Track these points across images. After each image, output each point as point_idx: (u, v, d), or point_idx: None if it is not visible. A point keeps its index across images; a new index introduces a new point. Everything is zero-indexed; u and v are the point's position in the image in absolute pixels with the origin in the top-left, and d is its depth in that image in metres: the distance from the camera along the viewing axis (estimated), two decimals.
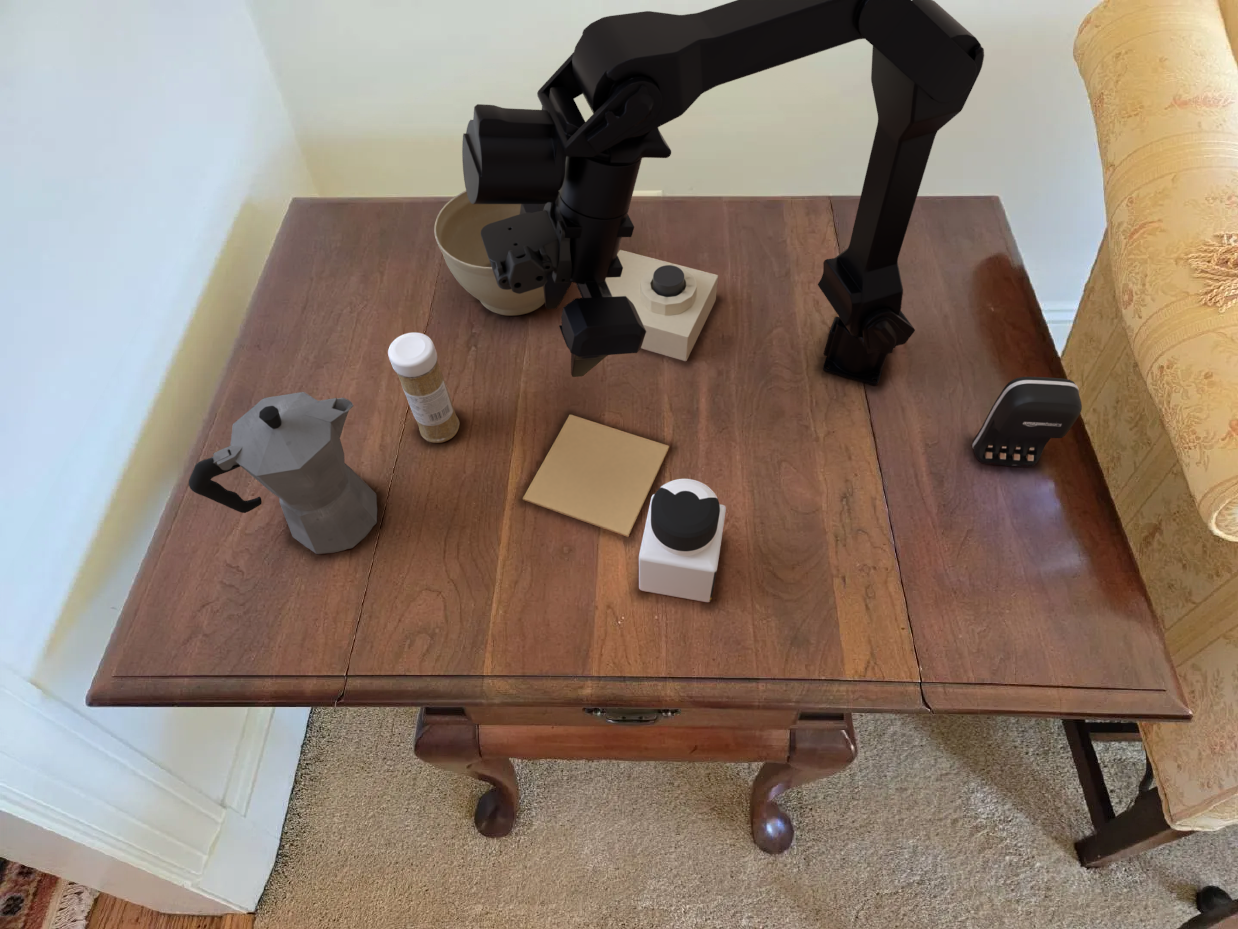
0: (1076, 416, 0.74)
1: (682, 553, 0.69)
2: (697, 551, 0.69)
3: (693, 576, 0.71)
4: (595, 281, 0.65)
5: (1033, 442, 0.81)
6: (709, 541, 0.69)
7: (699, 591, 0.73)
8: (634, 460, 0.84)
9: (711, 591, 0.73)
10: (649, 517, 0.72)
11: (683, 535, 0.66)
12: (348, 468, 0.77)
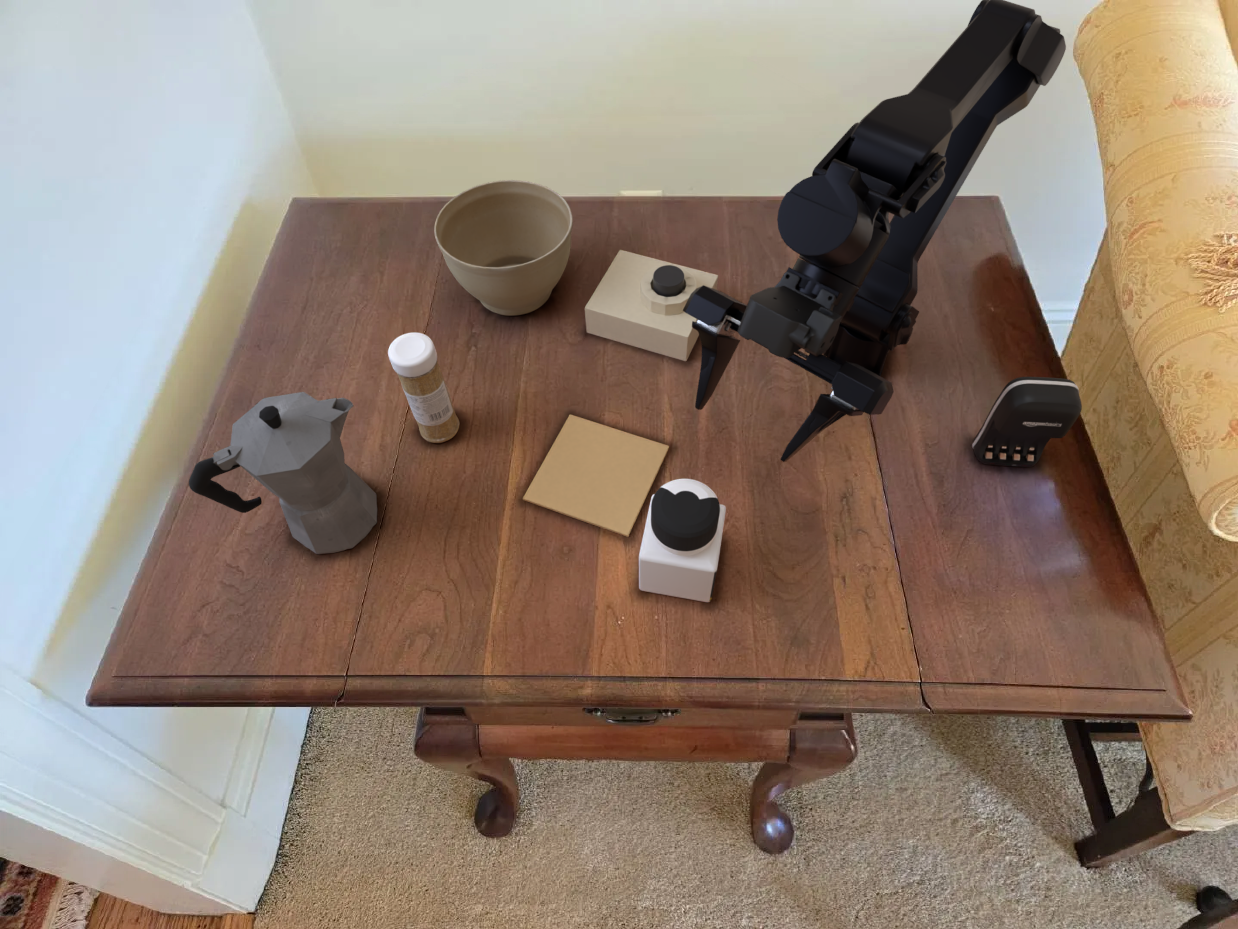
0: (1076, 416, 0.74)
1: (682, 553, 0.69)
2: (697, 551, 0.69)
3: (693, 576, 0.71)
4: None
5: (1033, 442, 0.81)
6: (709, 541, 0.69)
7: (699, 591, 0.73)
8: (634, 460, 0.84)
9: (711, 591, 0.73)
10: (649, 517, 0.72)
11: (683, 535, 0.66)
12: (348, 468, 0.77)
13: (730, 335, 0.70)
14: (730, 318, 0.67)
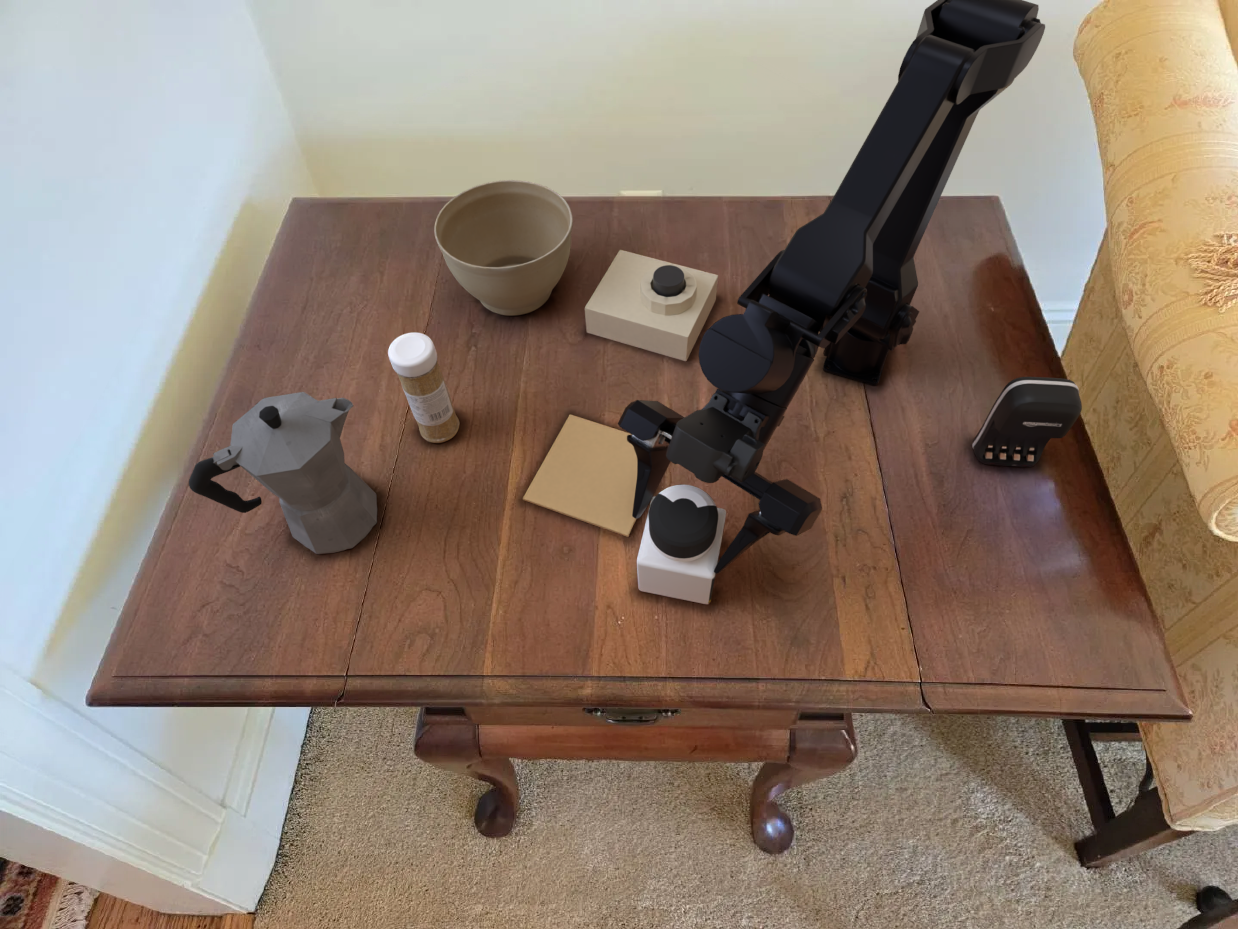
0: (1076, 416, 0.74)
1: (679, 560, 0.68)
2: (695, 558, 0.68)
3: (691, 582, 0.71)
4: None
5: (1033, 442, 0.81)
6: (707, 548, 0.68)
7: (698, 595, 0.73)
8: (634, 460, 0.84)
9: (709, 595, 0.73)
10: (648, 520, 0.72)
11: (680, 544, 0.66)
12: (348, 468, 0.77)
13: (666, 446, 0.72)
14: (664, 433, 0.69)
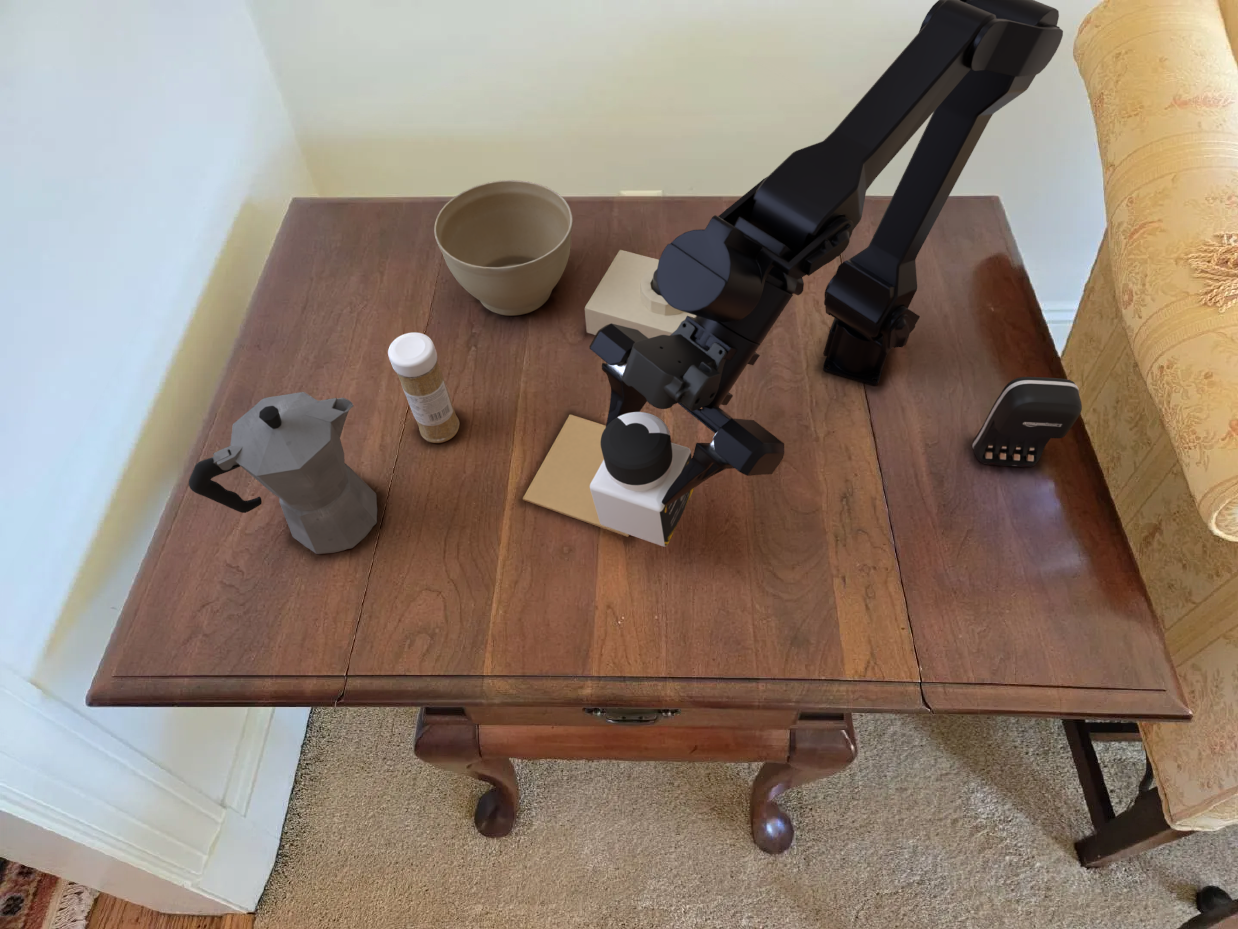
0: (1076, 416, 0.74)
1: (628, 486, 0.67)
2: (643, 487, 0.67)
3: (642, 514, 0.69)
4: (718, 406, 0.65)
5: (1033, 442, 0.81)
6: (657, 478, 0.67)
7: (652, 533, 0.71)
8: None
9: (663, 534, 0.71)
10: None
11: (624, 466, 0.65)
12: (348, 468, 0.77)
13: None
14: None
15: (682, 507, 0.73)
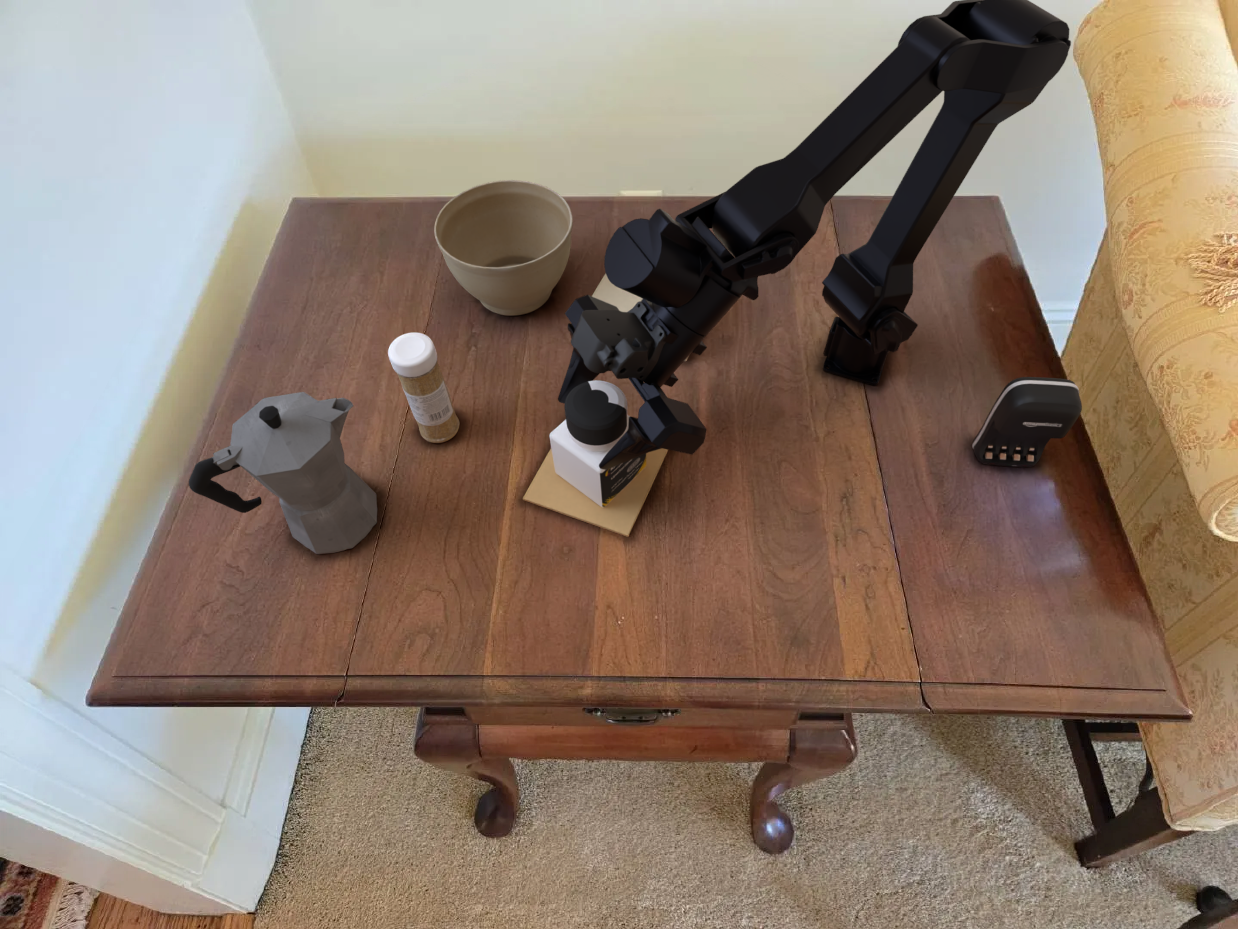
0: (1076, 416, 0.74)
1: (579, 443, 0.75)
2: (592, 447, 0.75)
3: (586, 472, 0.77)
4: (658, 385, 0.71)
5: (1033, 442, 0.81)
6: (605, 443, 0.74)
7: (593, 491, 0.79)
8: None
9: (602, 495, 0.78)
10: None
11: (577, 423, 0.73)
12: (348, 468, 0.77)
13: None
14: None
15: (628, 478, 0.81)
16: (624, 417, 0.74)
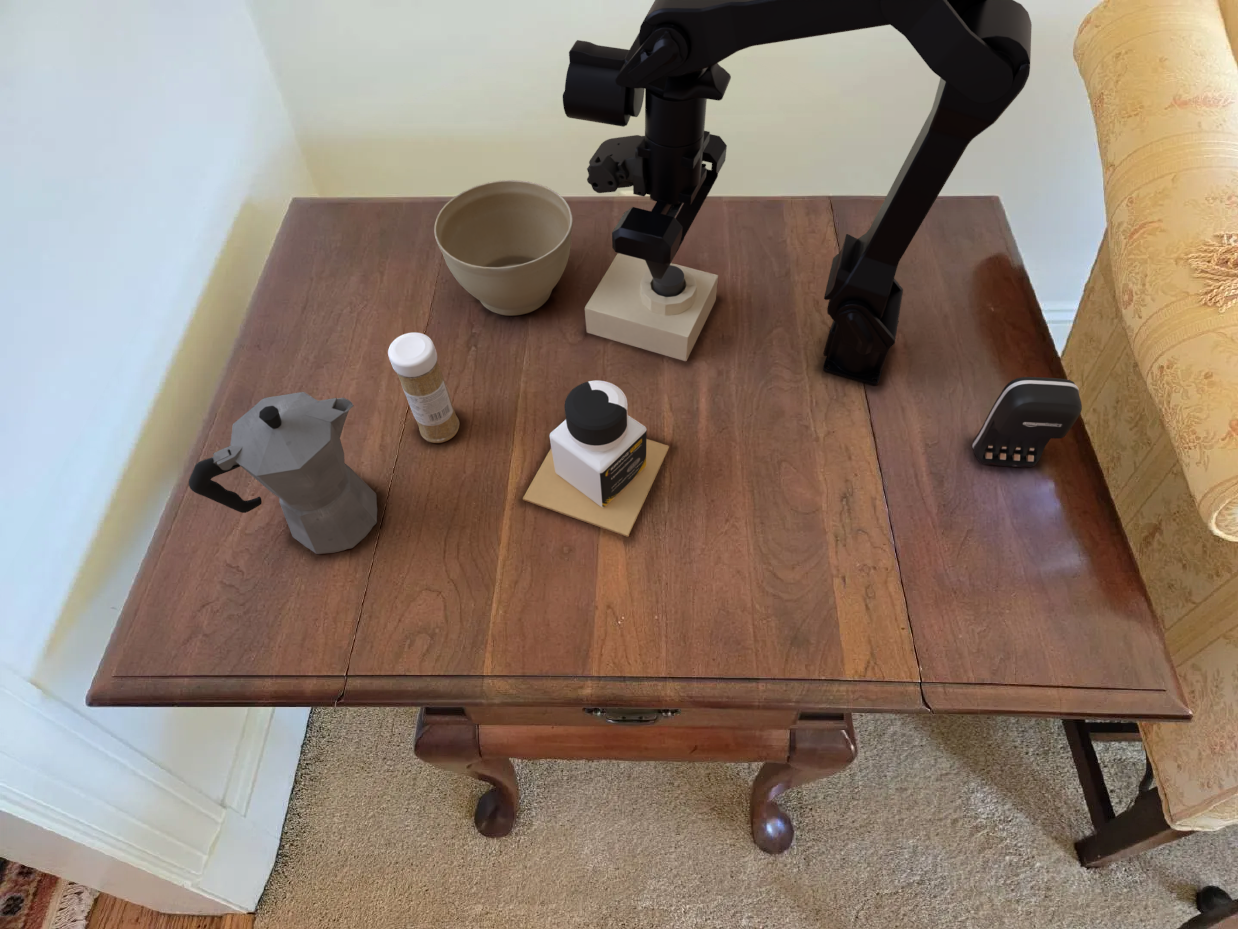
0: (1076, 416, 0.74)
1: (579, 443, 0.75)
2: (592, 447, 0.75)
3: (586, 472, 0.77)
4: (666, 201, 0.78)
5: (1033, 442, 0.81)
6: (605, 443, 0.74)
7: (593, 491, 0.79)
8: None
9: (602, 495, 0.78)
10: None
11: (577, 423, 0.73)
12: (348, 468, 0.77)
13: None
14: None
15: (628, 478, 0.81)
16: (624, 417, 0.74)
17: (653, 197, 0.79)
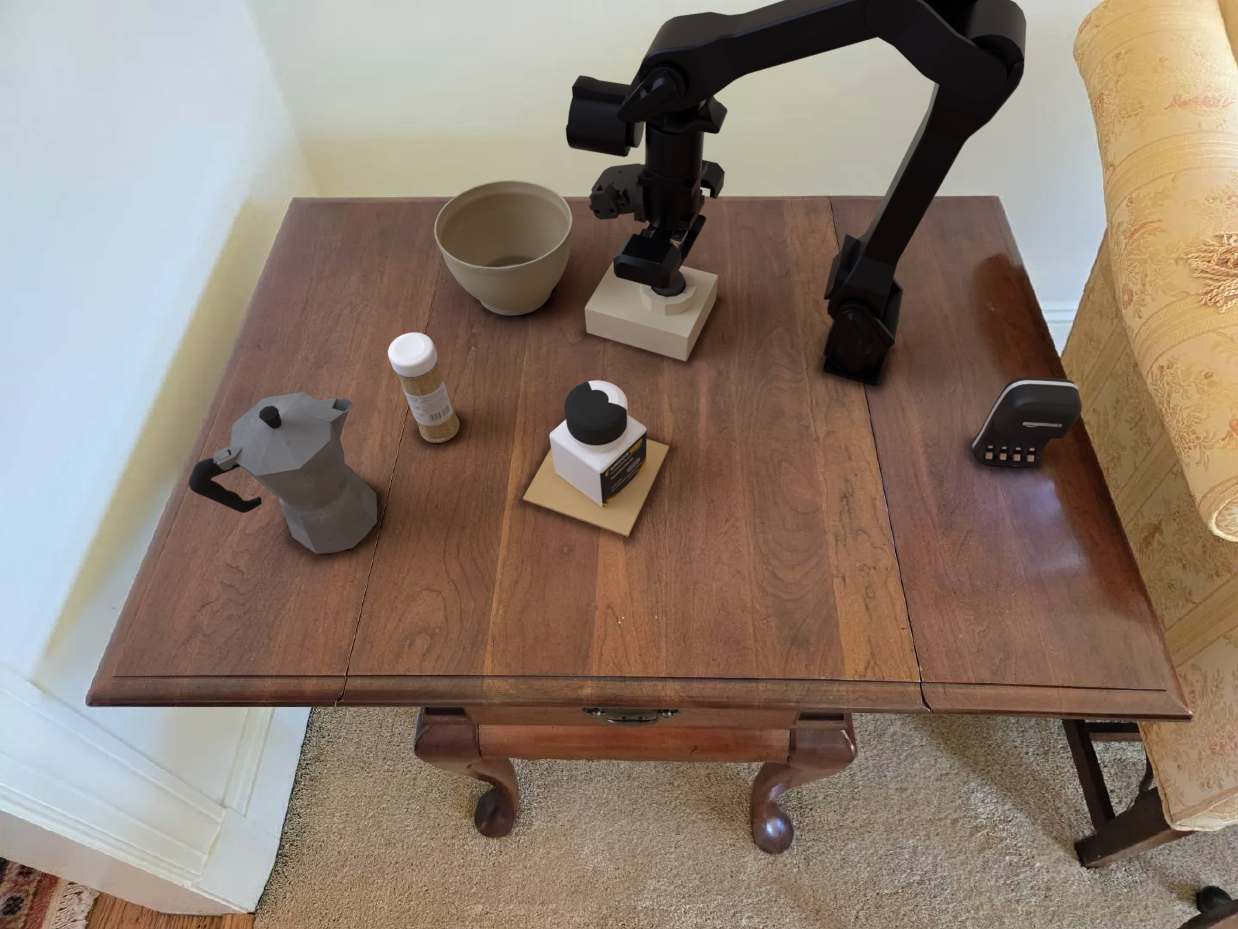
0: (1076, 416, 0.74)
1: (579, 443, 0.75)
2: (592, 447, 0.75)
3: (586, 472, 0.77)
4: (665, 228, 0.81)
5: (1033, 442, 0.81)
6: (605, 443, 0.74)
7: (593, 491, 0.79)
8: None
9: (602, 495, 0.78)
10: None
11: (577, 423, 0.73)
12: (348, 468, 0.77)
13: None
14: None
15: (628, 478, 0.81)
16: (624, 417, 0.74)
17: (653, 223, 0.81)
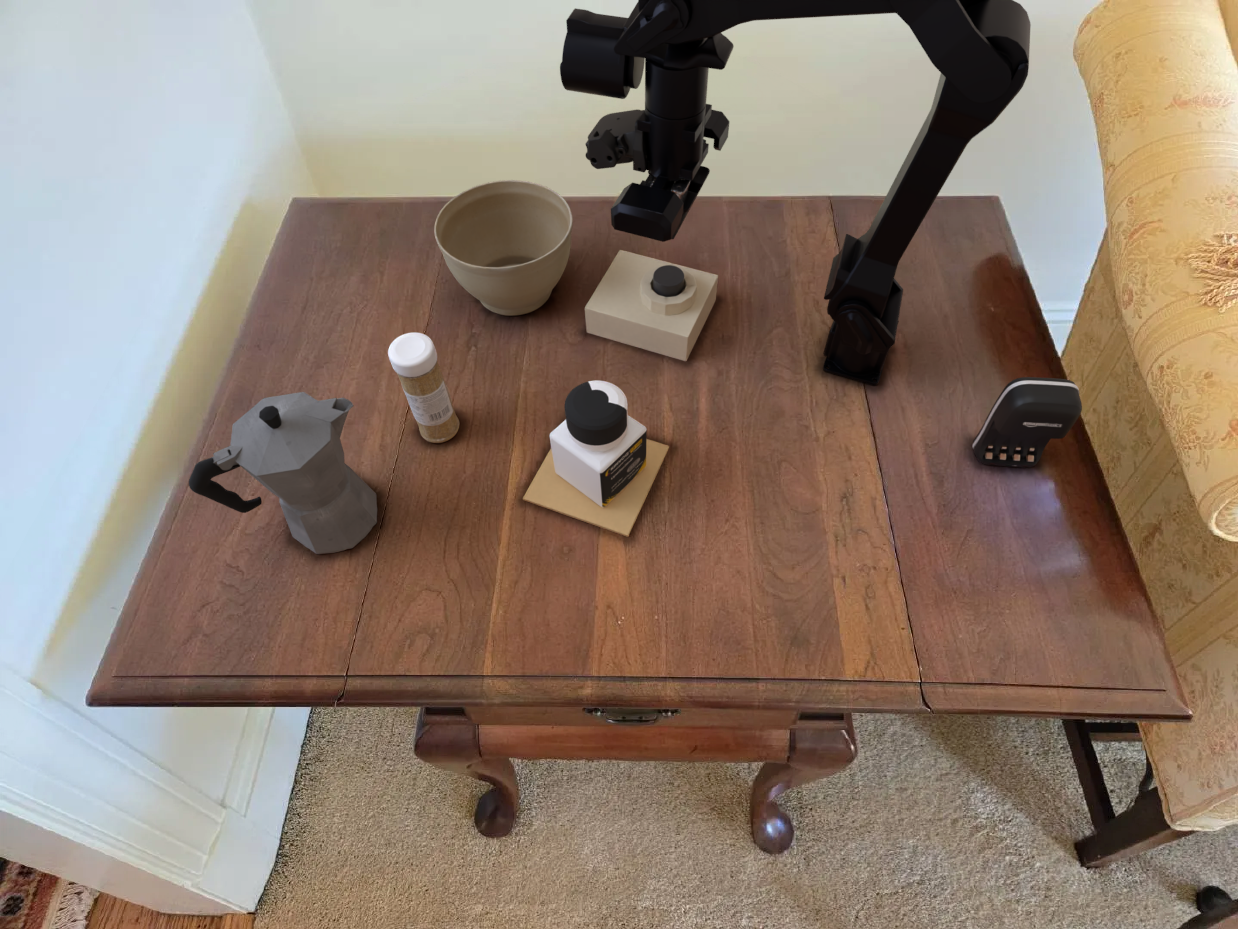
0: (1076, 417, 0.74)
1: (579, 443, 0.75)
2: (592, 447, 0.75)
3: (586, 472, 0.77)
4: (667, 177, 0.76)
5: (1033, 443, 0.81)
6: (605, 443, 0.74)
7: (593, 491, 0.79)
8: None
9: (602, 495, 0.78)
10: None
11: (577, 423, 0.73)
12: (348, 468, 0.77)
13: None
14: None
15: (628, 478, 0.81)
16: (624, 417, 0.74)
17: (653, 173, 0.76)
